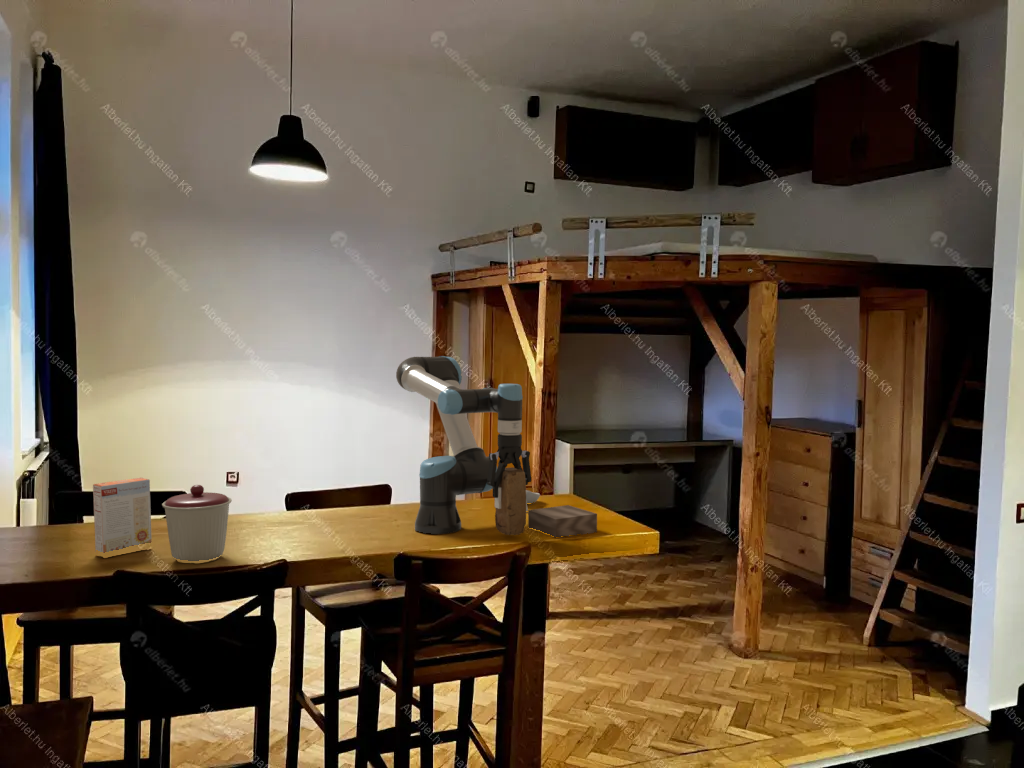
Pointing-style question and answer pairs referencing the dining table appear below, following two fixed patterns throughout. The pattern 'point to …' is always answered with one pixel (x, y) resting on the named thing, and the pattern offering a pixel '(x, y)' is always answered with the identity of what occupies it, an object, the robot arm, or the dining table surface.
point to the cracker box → (122, 514)
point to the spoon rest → (531, 497)
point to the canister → (197, 524)
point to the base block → (562, 521)
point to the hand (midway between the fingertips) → (509, 506)
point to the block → (512, 503)
